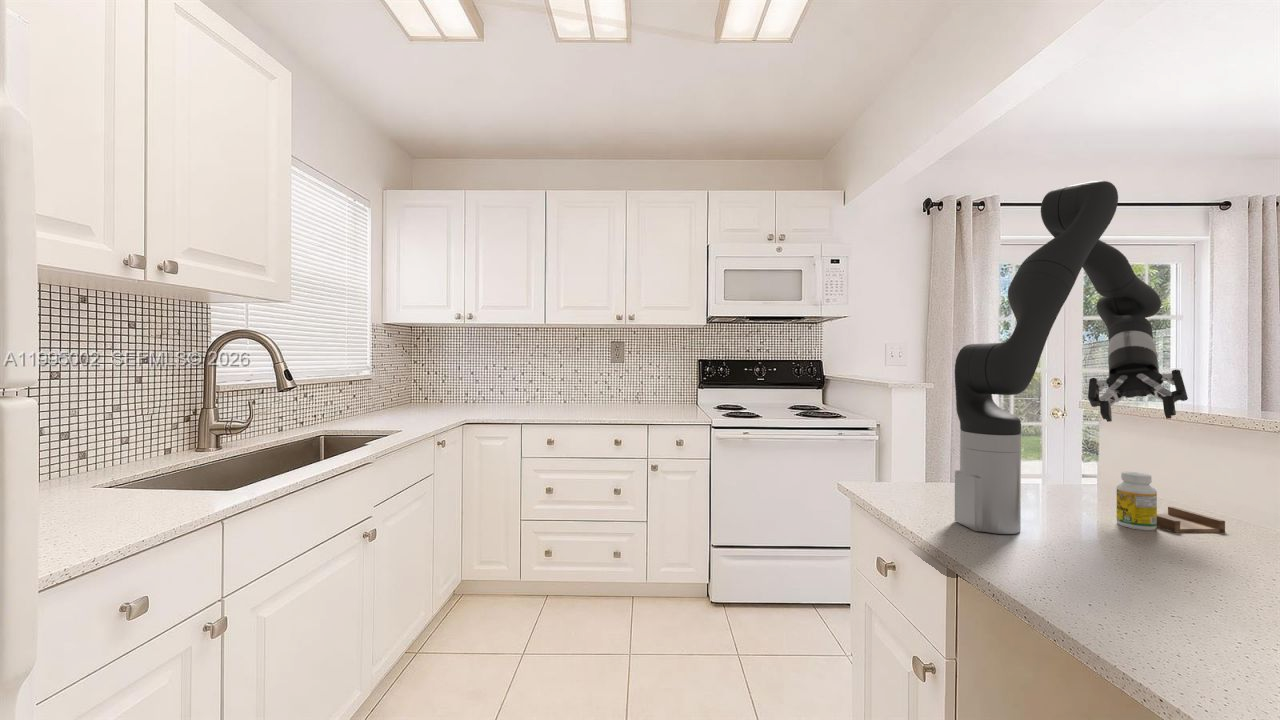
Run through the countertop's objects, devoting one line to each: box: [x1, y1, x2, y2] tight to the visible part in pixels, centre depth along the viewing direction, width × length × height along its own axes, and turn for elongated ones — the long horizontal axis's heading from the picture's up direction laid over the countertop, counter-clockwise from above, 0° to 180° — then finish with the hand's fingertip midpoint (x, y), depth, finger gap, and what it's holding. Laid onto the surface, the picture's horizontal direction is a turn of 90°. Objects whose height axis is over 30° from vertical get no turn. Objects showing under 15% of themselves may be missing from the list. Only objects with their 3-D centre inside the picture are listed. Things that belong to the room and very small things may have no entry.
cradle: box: [1157, 506, 1226, 533], centre depth 98 cm, size 9×9×2 cm
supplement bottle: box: [1116, 471, 1158, 532], centre depth 97 cm, size 5×5×10 cm
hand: (1137, 417), depth 102 cm, fingers open, 8 cm apart
